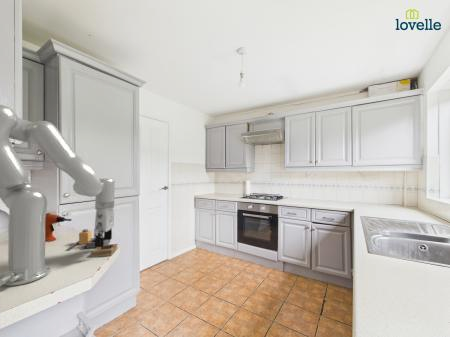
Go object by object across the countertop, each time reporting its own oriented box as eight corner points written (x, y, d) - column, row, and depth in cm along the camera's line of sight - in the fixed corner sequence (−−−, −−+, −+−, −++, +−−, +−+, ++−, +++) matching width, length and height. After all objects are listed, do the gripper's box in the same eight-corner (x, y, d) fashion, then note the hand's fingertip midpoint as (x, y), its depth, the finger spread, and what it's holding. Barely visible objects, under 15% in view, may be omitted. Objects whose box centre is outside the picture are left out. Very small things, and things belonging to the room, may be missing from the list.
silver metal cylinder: (101, 245, 103) (101, 229, 103) (92, 245, 102) (92, 229, 102) (104, 242, 107) (104, 226, 107) (96, 242, 106) (96, 227, 106)
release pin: (87, 244, 105) (87, 230, 105) (79, 244, 104) (79, 231, 104) (91, 241, 109) (91, 228, 109) (83, 242, 108) (83, 228, 108)
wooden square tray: (111, 255, 91) (111, 250, 91) (91, 257, 90) (91, 251, 90) (117, 248, 99) (117, 243, 99) (99, 250, 98) (99, 245, 98)
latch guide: (84, 249, 98) (84, 247, 98) (67, 250, 97) (67, 248, 97) (95, 240, 111) (95, 238, 111) (81, 241, 110) (81, 239, 110)
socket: (104, 247, 101) (104, 242, 101) (86, 248, 100) (86, 243, 100) (110, 241, 109) (110, 237, 109) (93, 242, 107) (93, 237, 107)
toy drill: (66, 244, 105) (66, 215, 105) (37, 242, 108) (37, 213, 108) (75, 241, 109) (75, 213, 109) (47, 239, 113) (47, 211, 113)
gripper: (106, 208, 87) (105, 249, 86) (119, 202, 104) (118, 236, 103) (86, 208, 85) (85, 250, 85) (103, 202, 102) (102, 237, 102)
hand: (103, 242), depth 94 cm, fingers open, 9 cm apart
